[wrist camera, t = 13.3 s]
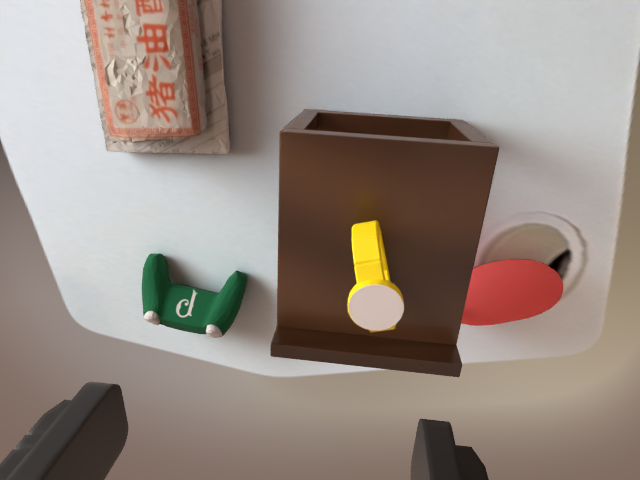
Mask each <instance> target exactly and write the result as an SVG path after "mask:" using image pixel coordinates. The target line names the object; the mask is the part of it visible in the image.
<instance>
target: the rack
mask: <svg viewBox="0 0 640 480" xmlns="http://www.w3.org/2000/svg"><path fill="white" fill-rule="evenodd" d="M498 152H499V147H498V146H496V145H495V144H494V143H492V142H491V141H490V140H488V139H487V138H486V137H484V136H483V135H482V134H480V133H479V132H478V131H477V130H475V129H474V128H473V127H471V126H470V125H469V124H467V123H466V122H465V121H464V120H456V119H441V118H426V117H412V116H397V115H382V114H368V113H353V112H338V111H324V110H309V109H304V110H303V111H302V112H301V113H300V114H299V115H298V116H297V117H296V118H294V119H293V120H292V121H291V122H290V123H289V124H288V125H287V126H286V127H285V128H284V129H283V130H281V131H280V154H279V221H278V289H277V327H276V330H275V333H274V336H273V339H272V342H271V356H273V357H282V358H291V359H300V360H309V361H318V362H327V363H336V364H345V365H354V366H363V367H372V368H381V369H390V370H399V371H408V372H417V373H426V374H436V375H445V376H453V377H459V376H460V372H461V368H462V363H461V359H460V356H459V352H458V349H457V346H456V344H457V339H458V335H459V330H460V325H461V321H462V316H463V312H464V307H465V303H466V298H467V293H468V289H469V284H470V280H471V275H472V270H473V266H474V261H475V257H476V252H477V248H478V243H479V238H480V234H481V229H482V225H483V220H484V216H485V211H486V206H487V202H488V197H489V193H490V188H491V184H492V179H493V174H494V170H495V165H496V161H497V156H498ZM375 220H377V221H378V222H379V226H380V229H381V232H382V233H381V234H382V239H383V244H384V249H385V255H386V260H387V265H388V270H389V276H390V282H392V283H393V284H395V285H396V286H397V287H398V288H399V290H400V291H401V293H402V296H403V300H404V312H403V315H402V317H401V319H400V320H399V321H398V322H397V323H396V327H395V329H393V330H385V331H377V332H371V331H369V330H368V329H364V328H362V327H360V326H359V325H357V324H356V323H355V322H354V321H353V320H352V319H351V317H350V315H349V313H348V305H347V304H348V296H349V293H350V291H351V290H352V288H353V287H354V286H355V285H356V284H357V281H356V275H355V269H354V267H355V265H354V261H353V251H352V226H353V225H354V224H358V223H363V222H369V221H375Z"/></svg>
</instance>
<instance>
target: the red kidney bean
mask: <svg viewBox="0 0 640 480" xmlns="http://www.w3.org/2000/svg"><path fill="white" fill-rule="evenodd" d="M562 293H563V283H562V279H561V277H560V276H559V274H558V273H557V272H556V271H555V270H553V269H552V268H550V267H549V266H547V265H546V264H543V263H540V262H536V261H533V260H525V259H510V260H502V261H497V262H492V263H487V264H483V265H480V266H477V267H474V268H473V270H472V275H471V280H470V284H469V289H468V293H467V298H466V303H465V307H464V312H463V316H462V321H461V323H462V324H467V325H493V324H499V323H505V322H510V321H516V320H521V319H525V318H529V317H532V316H535V315H538V314H541V313H543V312H545V311H547V310H549V309H550V308H551V307H553V306H554V305H555V304H556V303H557V302H558V301H559V300H560V298H561V296H562Z"/></svg>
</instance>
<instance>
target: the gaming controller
mask: <svg viewBox="0 0 640 480" xmlns="http://www.w3.org/2000/svg"><path fill="white" fill-rule="evenodd" d="M246 282H247V275H246V274H244V273H242V272H239V271H236V272H235V273H234V274H233V275H232V276H231V277H229V279H228V280H227V282H226V284H225V285H224V287H223V288H222V290H221V292H220V293H215V292H211V291H206V290H202V289H197V288H193V287H188V286H184V285H179V284H174V283H172V282H171V280H170V276H169V271H168V266H167V262H166V260H165V257H164V256H163V255H162V254H150V255H149V256H148V258H147V260H146V262H145V265H144V268H143V278H142V300H143V313H144V319H145V320H146V321H147V322H149V323H152V324H156V325H159V324H162V325H165V326H167V327H171V328H175V329H178V330H182V331H187V332H193V333H198V334H207V335H208V336H209V337H215V338H217V337H222V336H223V335H224V334H225V333H226V332H227V330H228V329H229V328H230V326H231V325H232V323H233V322H234V320H235V318H236V316H237V313H238V311H239V309H240V306H241V303H242V299H243V296H244V292H245V287H246Z"/></svg>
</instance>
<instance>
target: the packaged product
mask: <svg viewBox="0 0 640 480" xmlns="http://www.w3.org/2000/svg"><path fill="white" fill-rule="evenodd" d="M80 3H81V13H82V18H83V21H84V24H85V33H86V39H87V44H88V49H89V54H90V60H91V66H92V70H93V73H94V82H95V89H96V95H97V101H98V105H99V111H100V117H101V121H102V129H103V131H104V137H105V144H106V150H107V151H111V152H148V153H196V154H228V153H229V152H230V138H229V123H228V108H227V98H226V92H225V86H224V66H223V46H222V0H80Z"/></svg>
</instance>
